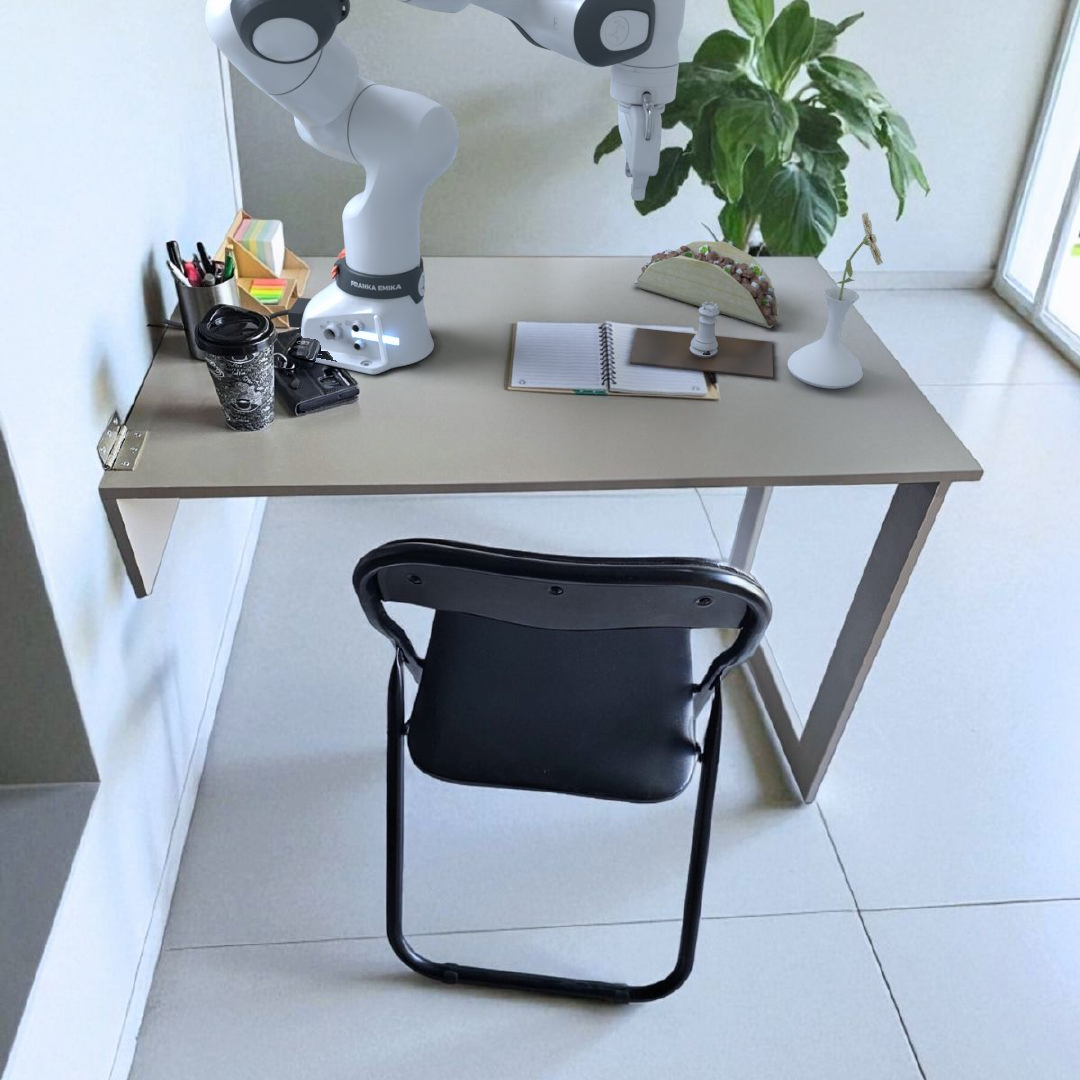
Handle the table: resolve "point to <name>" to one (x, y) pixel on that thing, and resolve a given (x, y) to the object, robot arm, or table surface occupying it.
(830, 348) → the flower in vase
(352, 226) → the robot arm
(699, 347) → the rook chess piece
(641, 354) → the brown wooden board
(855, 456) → the table surface
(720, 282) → the taco
